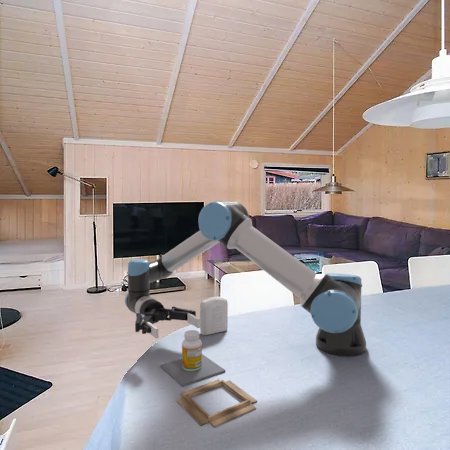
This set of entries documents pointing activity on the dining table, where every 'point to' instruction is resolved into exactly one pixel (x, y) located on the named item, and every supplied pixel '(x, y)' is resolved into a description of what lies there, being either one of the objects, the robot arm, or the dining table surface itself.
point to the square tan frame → (223, 415)
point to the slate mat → (192, 376)
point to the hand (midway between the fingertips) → (178, 328)
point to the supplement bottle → (191, 351)
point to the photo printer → (213, 315)
